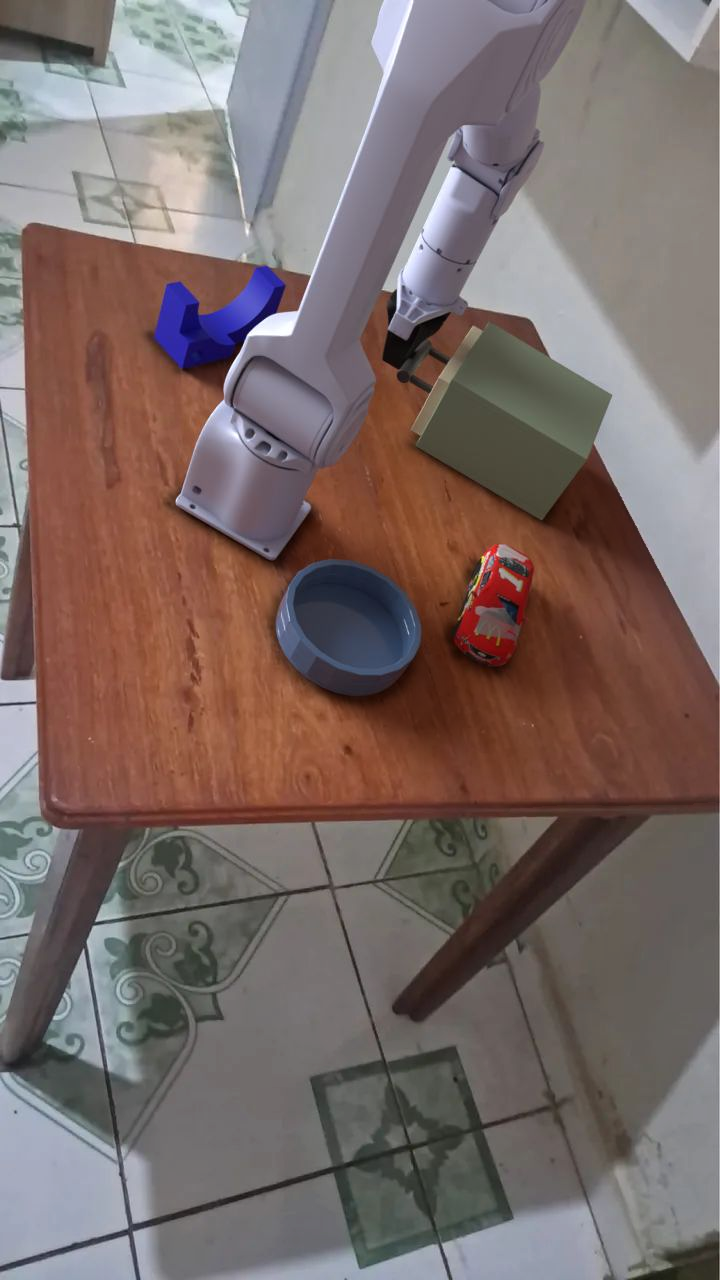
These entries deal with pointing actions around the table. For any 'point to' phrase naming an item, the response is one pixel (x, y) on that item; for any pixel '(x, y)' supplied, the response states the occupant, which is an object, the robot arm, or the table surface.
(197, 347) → the cable clip
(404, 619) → the bowl
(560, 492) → the cabinet
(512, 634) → the race car
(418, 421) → the drawer
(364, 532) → the table surface
